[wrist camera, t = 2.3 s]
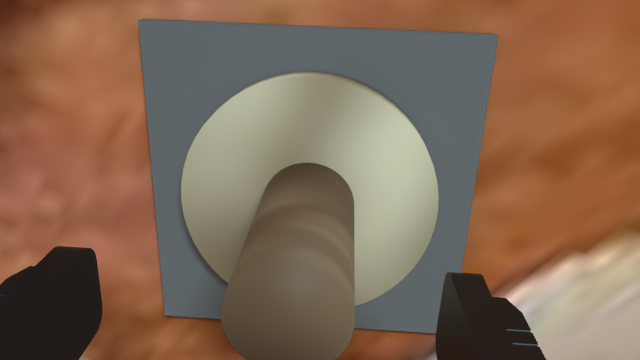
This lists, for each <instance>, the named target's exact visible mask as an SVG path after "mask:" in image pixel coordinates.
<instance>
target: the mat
mask: <svg viewBox="0 0 640 360" xmlns="http://www.w3.org/2000/svg"><path fill="white" fill-rule="evenodd" d="M138 23H139V35H140V46H141V57H142V68H143V79H144V90H145V101H146V112H147V123H148V134H149V146H150V157H151V168H152V179H153V190H154V201H155V212H156V223H157V234H158V245H159V257H160V268H161V279H162V290H163V301H164V312H165V316H180V317H195V318H210V319H221V318H220V309H221V303H222V300H223V297H224V294H225V292H226V289H227V287H228V284H229V283H227V282H226V281H225V280H224V279H222V278H221V277H220V276H219V275H218V274H217V273H216V272H215V271H214V270H213V269H212V268H211V267H210V266H209V264H208V263H207V262H206V260H205V259H204V258H203V257H202V255H201V254H200V252H199V250H198V249H197V247H196V245H195V244H194V242H193V240H192V237H191V235H190V233H189V231H188V228H187V225H186V221H185V218H184V214H183V208H182V201H181V181H182V174H183V168H184V164H185V161H186V157H187V154H188V152H189V149H190V147H191V145H192V143H193V141H194V139H195V137H196V136H197V134H198V133H199V131H200V130H201V128H202V126H203V125H204V124H205V123H206V122H207V121H208V119H209V118H210V117H211V116H212V115H213V114H214V113H215V112H216V110H217V109H218V108H219V107H220V106H221V105H222V104H223V103H224V102H226V101H227V100H228V99H229V98H230V97H231V96H233V95H234V94H235V93H237V92H239V91H240V90H242V89H243V88H245V87H247V86H248V85H250V84H253V83H255V82H257V81H259V80H261V79H264V78H267V77H271V76H274V75H277V74H282V73H289V72H295V71H320V72H329V73H334V74H338V75H342V76H347V77H350V78H352V79H355V80H357V81H360V82H363V83H365V84H367V85H369V86H370V87H372V88H374V89H376V90H378V91H380V92H381V93H382V94H384V95H385V96H386V97H388V98H389V99H390V100H392V101H393V102H394V103H395V104H396V105H397V106H398V107H399V108H400V109H401V110H402V111H403V112H404V113H405V114H406V115H407V116H408V117H409V119H410V120H411V121H412V123H413V124H414V125H415V126H416V128H417V130H418V132H419V133H420V135H421V137H422V139H423V140H424V143H425V145H426V148H427V150H428V153H429V155H430V158H431V160H432V163H433V166H434V170H435V174H436V178H437V183H438V194H439V201H438V214H437V219H436V224H435V229H434V231H433V234H432V237H431V240H430V242H429V244H428V246H427V248H426V250H425V252H424V254H423V256H422V257H421V258H420V260H419V261H418V263H417V264H416V265H415V267H414V268H413V269H412V270H411V271H410V272H409V273H408V274H407V276H406V277H405V278H404V279H403V280H401V281H400V282H399V283H398V284H396V285H395V286H394V287H393V288H391V289H390V290H388V291H387V292H385V293H384V294H382V295H380V296H379V297H377V298H375V299H372V300H370V301H368V302H366V303H363V304H361V305H358V306H355V325H354V328H360V329H375V330H390V331H405V332H420V333H435V334H436V328H437V322H438V316H439V309H440V303H441V297H442V291H443V284H444V279H445V276H446V273H447V272H456V273H461V270H462V263H463V257H464V251H465V244H466V238H467V231H468V225H469V219H470V212H471V206H472V200H473V193H474V187H475V181H476V174H477V168H478V162H479V155H480V149H481V143H482V136H483V130H484V123H485V117H486V111H487V104H488V98H489V92H490V85H491V79H492V73H493V66H494V60H495V54H496V47H497V41H498V35H496V34H486V33H463V32H440V31H417V30H394V29H370V28H347V27H324V26H301V25H278V24H255V23H231V22H208V21H185V20H162V19H141V20H138Z"/></svg>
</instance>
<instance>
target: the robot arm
mask: <svg viewBox="0 0 640 360" xmlns="http://www.w3.org/2000/svg"><path fill="white" fill-rule="evenodd" d="M101 318H102V299H101V291H100V283H99V275H98V267H97V259H96V255H95V252H94V251H93V249H91V248H79V247H64V246H57V247H55V248H53V249H52V250H51V251H50V252H49V253H48V254H47V255H46V256H45V257H44V258H43V259H42V260H41V261H40V262H39V263H38V264H37V265H36V266H29V267H28V268H26V269H24V270H22V271H20V272H18V273H16V274H14V275H12V276H11V277H9V278H7V279H6V280H5V281H4V282H3V283H2V284H1V285H0V360H79V358H80V357H81V355H82V354H83V352H84V351H85V349H86V348H87V346H88V345H89V343H90V342H91V340H92V339H93V337H94V336H95V334H96V333H97V331H98V328H99V326H100V322H101ZM530 330H531V329H530V327H529V326H528V324H527V322H526V320H525V318H524V316H523V314H522V312H520V311H519V310H518V309H517V308H516V307H515V306H514V305H513V304H511V303H510V302H509V301H508V300H507V299H506V298H498V297H492V296H491V294H490V291H489V289H488V287H487V285H486V282H485V280H484V278H483V276H482V275H481V274H471V273H456V272H447V273H446V276H445V279H444V284H443V291H442V297H441V303H440V309H439V316H438V322H437V328H436V354H437V360H546V359H545V357H544V355H543V353H542V351H541V349H540V347H538V345H537V344H538V343H537V341H536V339H535V337H534V335H533V333H531V332H530Z"/></svg>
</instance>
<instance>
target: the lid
mask: <svg viewBox="0 0 640 360" xmlns="http://www.w3.org/2000/svg"><path fill="white" fill-rule="evenodd" d="M181 201H182V208H183V214H184V218H185V221H186V225H187V228H188V231H189V233H190V235H191V237H192V240H193V242H194V244H195V245H196V247H197V249H198V250H199V252H200V254H201V255H202V257H203V258H204V259H205V260H206V262H207V263H208V264H209V266H210V267H211V268H212V269H213V270H214V271H215V272H216V273H217V274H218V275H219V276H220V277H221V278H222V279H224V280H225V281H226V282H227V283H229V284H228V287H227V289H226V292H225V294H224V297H223V300H222V303H221V309H220V318H221V324H222V328H223V331H224V333H225V335H226V338H227V339H228V341H229V342H230V344H231V345H232V346H233V348H234V349H235V350H236V351H237V352H238V353H239V354H240V355H241V356H243V357H244V358H245V359H247V360H335V359H336V358H337V357H339V356H340V355H341V354H342V352H343V351H344V350H345V349H346V347H347V346H348V344H349V342H350V340H351V338H352V335H353V332H354V325H355V306H358V305H361V304H363V303H366V302H368V301H370V300H372V299H375V298H377V297H379V296H380V295H382V294H384V293H385V292H387V291H388V290H390V289H391V288H393V287H394V286H395V285H396V284H398V283H399V282H400V281H401V280H403V279H404V278H405V277H406V276H407V274H408V273H409V272H410V271H411V270H412V269H413V268H414V267H415V265H416V264H417V263H418V261H419V260H420V258H421V257H422V256H423V254H424V252H425V250H426V248H427V246H428V244H429V242H430V240H431V237H432V234H433V231H434V229H435V224H436V219H437V214H438V201H439V194H438V183H437V178H436V174H435V170H434V166H433V163H432V160H431V158H430V155H429V153H428V150H427V148H426V145H425V143H424V140H423V139H422V137H421V135H420V133H419V132H418V130H417V128H416V126H415V125H414V124H413V123H412V121H411V120H410V119H409V117H408V116H407V115H406V114H405V113H404V112H403V111H402V110H401V109H400V108H399V107H398V106H397V105H396V104H395V103H394V102H393V101H392V100H390V99H389V98H388V97H386V96H385V95H384V94H382V93H381V92H380V91H378V90H376V89H374V88H372V87H370V86H369V85H367V84H365V83H363V82H360V81H357V80H355V79H352V78H350V77H347V76H342V75H338V74H334V73H329V72H320V71H295V72H289V73H282V74H277V75H274V76H271V77H267V78H264V79H261V80H259V81H257V82H255V83H253V84H250V85H248V86H247V87H245V88H243V89H242V90H240V91H239V92H237V93H235V94H234V95H233V96H231V97H230V98H229V99H228V100H227V101H226V102H224V103H223V104H222V105H221V106H220V107H219V108H218V109H217V110H216V112H215V113H214V114H213V115H212V116H211V117H210V118H209V119H208V121H207V122H206V123H205V124H204V125H203V126H202V128H201V130H200V131H199V133H198V134H197V136H196V137H195V139H194V141H193V143H192V145H191V147H190V149H189V152H188V154H187V157H186V161H185V164H184V168H183V174H182V181H181Z"/></svg>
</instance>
